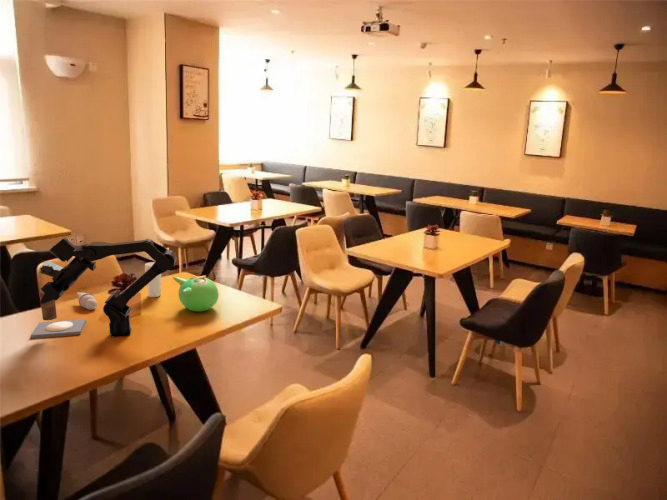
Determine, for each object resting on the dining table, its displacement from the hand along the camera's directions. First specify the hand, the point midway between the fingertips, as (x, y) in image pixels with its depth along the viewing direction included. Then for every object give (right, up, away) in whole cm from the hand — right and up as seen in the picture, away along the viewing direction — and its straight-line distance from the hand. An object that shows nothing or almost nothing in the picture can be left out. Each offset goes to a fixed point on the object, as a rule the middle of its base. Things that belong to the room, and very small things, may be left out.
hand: (43, 300), depth 174 cm
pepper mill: (+1, -6, +2) cm, 7 cm away
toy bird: (+45, -7, +34) cm, 57 cm away
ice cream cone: (-1, -6, +32) cm, 33 cm away
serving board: (+1, -12, +9) cm, 15 cm away
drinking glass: (+22, -3, +48) cm, 53 cm away
